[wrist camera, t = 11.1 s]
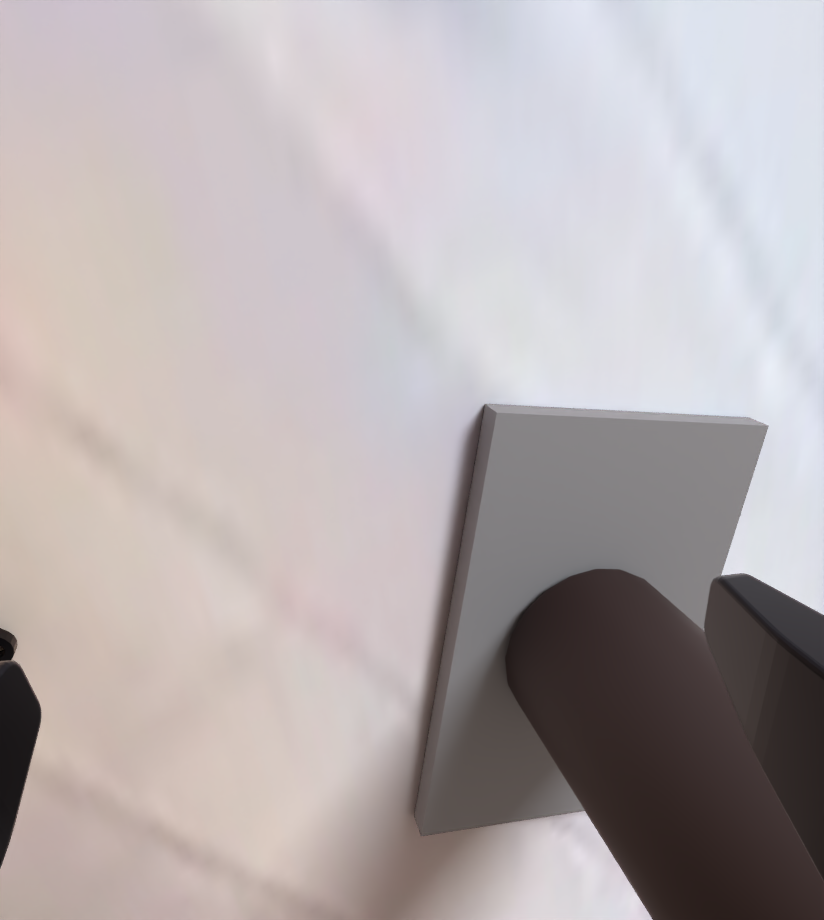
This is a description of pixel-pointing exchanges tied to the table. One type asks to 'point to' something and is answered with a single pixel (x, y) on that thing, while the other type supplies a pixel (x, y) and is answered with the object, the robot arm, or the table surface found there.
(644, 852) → the vinegar
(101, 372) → the table surface
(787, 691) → the robot arm
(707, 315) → the table surface
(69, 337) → the table surface
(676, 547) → the gray board
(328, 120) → the table surface
